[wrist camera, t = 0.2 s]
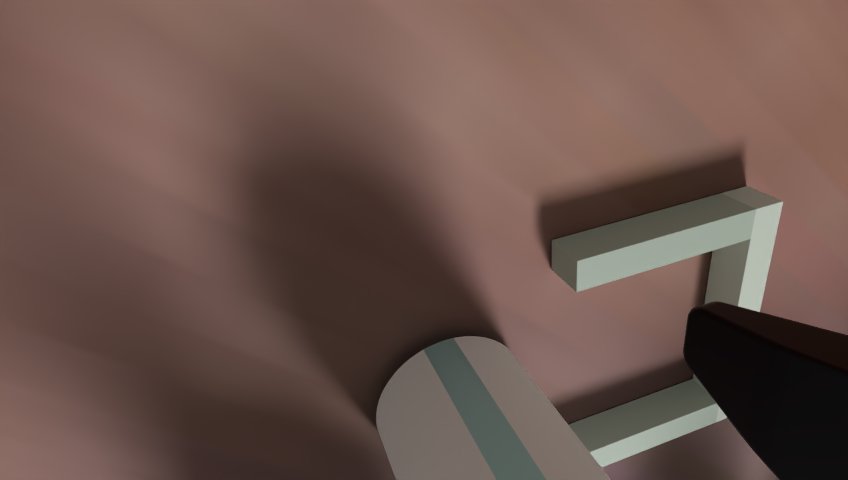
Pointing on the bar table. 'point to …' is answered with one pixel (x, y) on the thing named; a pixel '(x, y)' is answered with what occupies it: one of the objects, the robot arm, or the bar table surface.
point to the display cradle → (728, 282)
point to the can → (476, 419)
